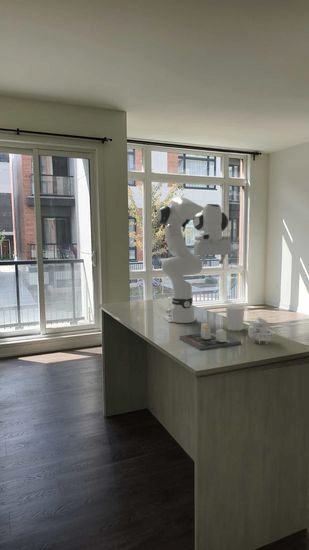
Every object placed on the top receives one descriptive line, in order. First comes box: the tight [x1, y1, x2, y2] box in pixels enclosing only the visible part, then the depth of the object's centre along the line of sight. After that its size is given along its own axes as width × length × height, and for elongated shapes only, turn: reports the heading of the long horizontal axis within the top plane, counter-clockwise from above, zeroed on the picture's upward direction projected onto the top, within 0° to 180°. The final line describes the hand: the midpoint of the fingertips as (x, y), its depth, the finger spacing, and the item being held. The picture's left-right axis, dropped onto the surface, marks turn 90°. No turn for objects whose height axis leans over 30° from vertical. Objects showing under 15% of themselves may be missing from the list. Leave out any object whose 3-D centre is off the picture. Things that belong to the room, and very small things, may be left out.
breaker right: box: [215, 328, 227, 342], centre depth 164 cm, size 4×3×5 cm
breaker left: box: [200, 322, 211, 329], centre depth 177 cm, size 4×3×5 cm
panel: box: [179, 331, 242, 351], centre depth 170 cm, size 20×22×2 cm
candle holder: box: [225, 305, 245, 332], centre depth 194 cm, size 10×10×12 cm
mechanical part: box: [247, 316, 276, 345], centre depth 168 cm, size 11×12×12 cm
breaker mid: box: [200, 327, 212, 339], centre depth 169 cm, size 4×3×5 cm
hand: (213, 264), depth 178 cm, fingers open, 8 cm apart
